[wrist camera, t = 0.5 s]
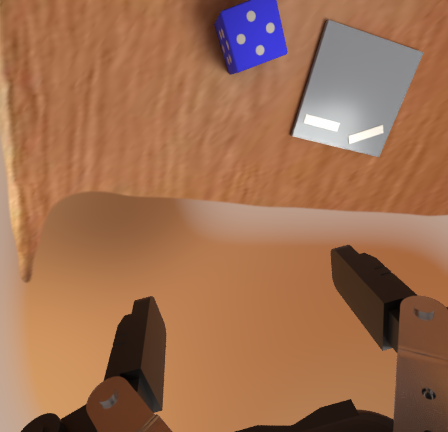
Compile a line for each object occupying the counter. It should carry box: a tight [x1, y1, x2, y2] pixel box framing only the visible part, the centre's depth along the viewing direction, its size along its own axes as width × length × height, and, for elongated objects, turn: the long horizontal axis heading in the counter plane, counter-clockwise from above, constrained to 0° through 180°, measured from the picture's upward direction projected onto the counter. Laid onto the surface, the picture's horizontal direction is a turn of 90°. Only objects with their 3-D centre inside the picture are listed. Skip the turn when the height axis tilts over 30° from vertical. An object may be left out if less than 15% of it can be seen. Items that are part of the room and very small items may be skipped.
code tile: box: [291, 20, 423, 157], centre depth 34 cm, size 12×12×1 cm
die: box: [214, 0, 287, 74], centre depth 29 cm, size 5×5×5 cm
